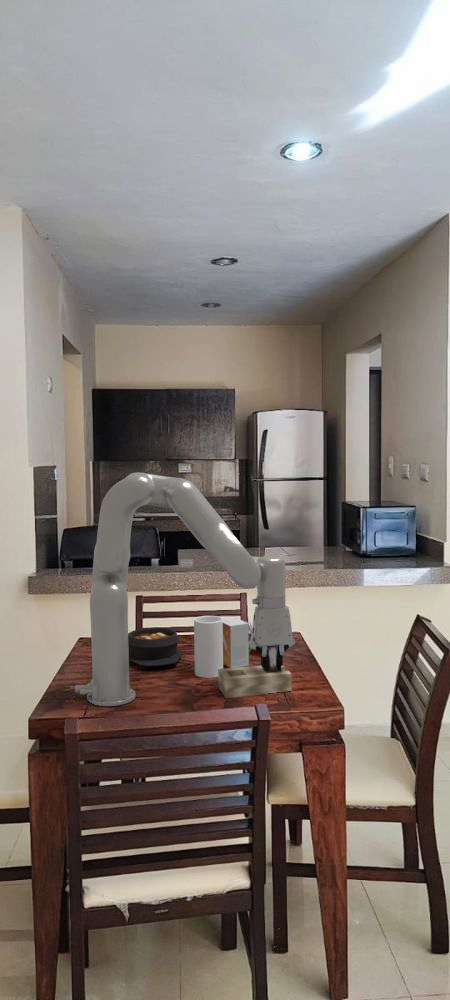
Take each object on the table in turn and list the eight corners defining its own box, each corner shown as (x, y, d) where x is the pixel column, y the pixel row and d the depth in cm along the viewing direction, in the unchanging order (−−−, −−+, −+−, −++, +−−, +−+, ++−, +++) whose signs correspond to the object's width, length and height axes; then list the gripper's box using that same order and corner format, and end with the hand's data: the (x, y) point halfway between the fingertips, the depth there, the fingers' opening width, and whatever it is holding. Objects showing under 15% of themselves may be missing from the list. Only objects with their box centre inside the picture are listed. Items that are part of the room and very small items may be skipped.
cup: (189, 674, 211) (188, 620, 210) (205, 667, 218) (204, 614, 217) (212, 679, 207) (211, 623, 205) (228, 671, 213) (227, 617, 212)
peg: (268, 678, 197) (268, 642, 196) (265, 675, 200) (264, 639, 199) (279, 677, 197) (278, 641, 197) (275, 674, 200) (275, 638, 200)
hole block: (225, 698, 191) (225, 679, 191) (218, 687, 200) (218, 669, 200) (291, 691, 195) (291, 673, 195) (281, 681, 204) (281, 663, 204)
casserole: (191, 668, 217) (191, 640, 217) (129, 675, 212) (128, 646, 211) (173, 646, 241) (173, 621, 241) (116, 651, 236) (116, 626, 235)
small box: (218, 662, 223) (217, 619, 222) (236, 659, 226) (235, 617, 225) (230, 669, 216) (230, 625, 215) (249, 665, 219) (248, 622, 218)
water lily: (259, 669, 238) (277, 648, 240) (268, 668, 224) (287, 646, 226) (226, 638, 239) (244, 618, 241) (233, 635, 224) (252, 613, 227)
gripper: (245, 607, 192) (246, 675, 193) (304, 603, 195) (305, 670, 197) (238, 601, 199) (239, 667, 200) (295, 597, 203) (296, 662, 204)
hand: (271, 668), depth 199 cm, fingers closed on peg, 3 cm apart
